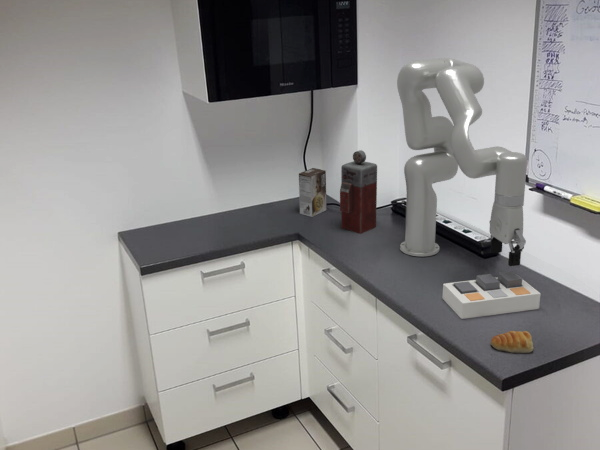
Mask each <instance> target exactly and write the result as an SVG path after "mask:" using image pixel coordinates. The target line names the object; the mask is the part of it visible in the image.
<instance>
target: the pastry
mask: <svg viewBox="0 0 600 450" xmlns="http://www.w3.org/2000/svg"><path fill="white" fill-rule="evenodd" d="M490 345H491V346H492V347H493V348H494V349H496V350H497V351H502V352H507V353H515V354H516V353H521V354H529V353H532V351H533V350H534V342H533V339H532V335H531V333H530V332H528V331H527V330H524V331H519V330H517V331H516V330H510V331H507V332H504V333H500V334H497V335H494V336H492V338H491V340H490Z"/></svg>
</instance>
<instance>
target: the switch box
mask: <svg viewBox="0 0 600 450" xmlns="http://www.w3.org/2000/svg"><path fill="white" fill-rule="evenodd" d="M494 277H495V278H496V279H497V280H498V276H497V277H496V276H494ZM467 281H468V282H469V283H470V284H472V285H473V286H474V287H475V288H476V289H477V292H474V293H466V294H461V293H460V292H459V291H458V290H457V289H456V288H455V287H454V283H459V282H467ZM442 285H443V287H442V300H444V302H445V303H446V304H447V305H448V307H450V309H451V310H453V311H454V313H455V314H456V315H457V316H458V317H459V319H461V320H464V319H466V320H467V319H473V318H481V317H488V316H489V317H490V316H495V315H496V316H497V315H502V314H509V313H510V314H511V313H518V312H526V311H534V310H539V309H540V302H541V296H542V295H541V292H540V291H538V290H537V289H536V288H534V287H533V286H532V285H530V284H529V283H528V282H527V281H526V280H524V279H523V278H522V287H514V288H506V287H504V286H503V285H502V284H501V283H500V287H499V289H498V290H490V291H483V290H482V289H481V288H480V287H479V286H478V285H477V284H476V279H471V280H463V281H454V282H447V283H443V284H442Z"/></svg>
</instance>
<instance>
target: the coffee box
mask: <svg viewBox="0 0 600 450" xmlns="http://www.w3.org/2000/svg"><path fill="white" fill-rule="evenodd" d="M326 171H327V170H323V169H319V168H316V167H312V168H310V169H307V170H304V171H302V172H299V173H298V190H299V192H298V193H299V198H298V199H299V214H300V215H303V216H307V217H311V218H312V217H315V216H317V215H320V214H322V213H324V212H325V211H327V175H326V174H327V173H326Z"/></svg>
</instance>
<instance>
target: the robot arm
mask: <svg viewBox="0 0 600 450" xmlns="http://www.w3.org/2000/svg"><path fill="white" fill-rule="evenodd" d="M484 85H485V78H484V74H483V73H482V71H481V69H480V68H479V67H478V66H476V65H474V64H471V63H470V62H469V63H468V62H465V61H461V60H457V59H455V58H450V57H443V58H442V57H441V58H432V59H431V58H429V59H420V60H412V61H411V62H408V63H406V64H404V65H402V67H401V69H400V70H399V72H398V74H397V79H396V87H397V92H398V96H399V99H400V101H401V102H400V103H401V106H402V115H403V116H402V117H403V125H404V133H405V135H404V136H405V141H406V144H407V146H408V148H409V149H410V150H412V151H423V150H428V149H433V152H428V153H426V152H425V153H421V154H417V155H414V156H412V157H409V159H408V160H407V161H406V162H405V164H404V167H403V168H404V169H403V170H404V172H403V173H404V179H405V186H406V198H405V199H406V205H405V229H404V230H405V235H404V237H405V238H404V241H402V242H401V243H400V244H399V250H400V251H401V252H402V253H404V254H405V255H408V256H413V257H431V256H434V255H436V254H438V253H439V252H440V246H439V244H438V243H437V242H436V227H437V225H436V224H437V206H438V203H437V202H438V197H437V193H436V191H435V190H434V188H433V184H437V183H442V182H445V181H449V180H452V179H453V178H454V177H456V175H457V173H458V169H460V171H461V172H462V173H463V175H465V176H466V177H467V178H469V179H473V180H474V179H480V178H484V177H489V176H495V185H494V186H495V187H494V197H493V198H494V200H493V203H492V207H491V208H492V209H491V214H490V219H489V234H490V239H491V240H490V253H491V254H499V253H502V252H503V244H504V245H508V247H509V250H510V251H509V252H508V259H507V260H508V262H507V263H508V264H507V266H508V267H514V266H515V267H517V266H520V265H521V257H522V252H523V250H524V249H525V245H526V242H527V241H526V238H525V237H524V208H523V207H524V206H525V191H526V181H527V180H526V177H527V167H528V158H527V156H526V155H525V154H524V153H522V152H517V151H516V152H514V151H511V150H509V149H507V148H506V147H503V146H490V147H486V148H480V149H475V148H474V146H473V144H472V142H471V139H470V136H469V129H470V126H471V125H473V124H474V123H476V122H477V121H478V120H479V119H480V117H481V116H482V114H483V109H482V107H481V105H480V103H479V101H478V99H477V97H476V94H478V93H479V92H481V91H482V90H483V88H484ZM426 89H428V90H429V89H436V91H437V93H438V94H439V97H440V99H441V101H442V103H443V105H444V107H445V109H446V111H447V113H448V115H449V117H450V119H451V120H450V119H449V118H448V117H446V116H443V115H442V116H441V115H437V116H433V115H432V105H431V102H430V99H429V97H428V96H427V95H426V93H425V92H424V91H423V90H426ZM515 244H516V245H515ZM514 245H515V246H514Z"/></svg>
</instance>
